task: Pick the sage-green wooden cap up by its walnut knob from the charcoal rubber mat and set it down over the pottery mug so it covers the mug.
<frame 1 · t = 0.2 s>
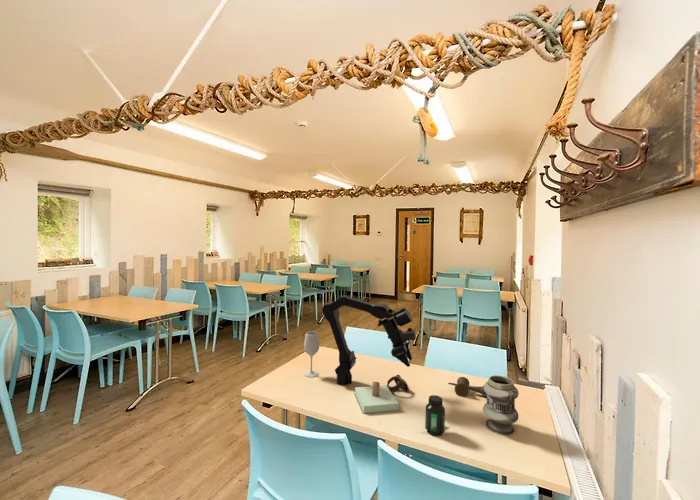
hand: (410, 362, 145), 15 cm above the table, tool tilted 30°, fingers open, 9 cm apart
wineglass: (311, 374, 167), on the table
mat: (375, 403, 138), on the table
lid: (375, 401, 138), point 1 cm above the table, touching mat
pottery mug: (398, 392, 149), on the table
kendama: (470, 394, 149), on the table
supplement bottle: (434, 431, 120), on the table
apothecary jar: (499, 427, 123), on the table
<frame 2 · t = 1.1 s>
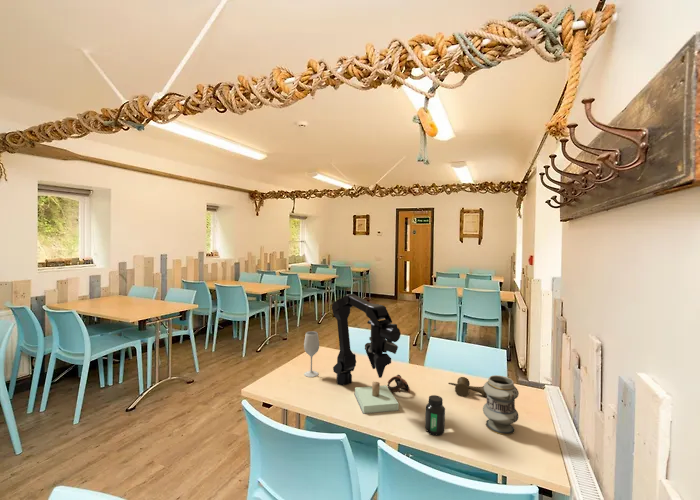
hand: (376, 373, 138), 13 cm above the table, tool pointing down, fingers open, 9 cm apart
nothing on the table moved.
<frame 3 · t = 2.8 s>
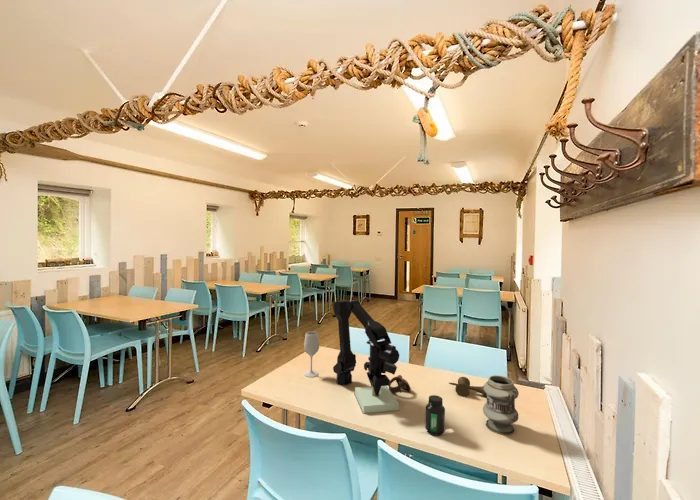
hand: (375, 393, 138), 5 cm above the table, tool pointing down, fingers closed on lid, 3 cm apart
lid: (375, 401, 138), point 1 cm above the table, touching gripper, mat
when the fingers open (10 cm above the table, at t = 5.6 s): lid drops 2 cm, resting on pottery mug.
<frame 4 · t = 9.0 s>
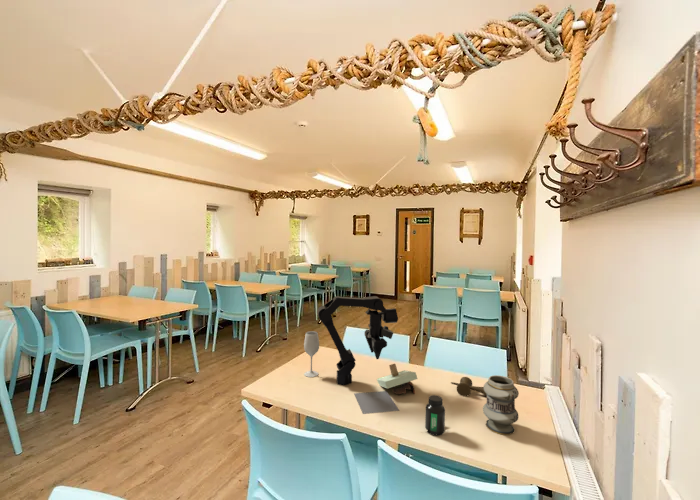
hand: (374, 355, 158), 13 cm above the table, tool pointing down, fingers open, 9 cm apart
lid: (397, 382, 150), point 4 cm above the table, tilted 23°, touching pottery mug
pottery mug: (403, 393, 148), on the table, touching lid
at the end: lid 3.3 cm from the pottery mug (horizontally); lid point 4.2 cm above the table; the gripper is holding nothing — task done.
